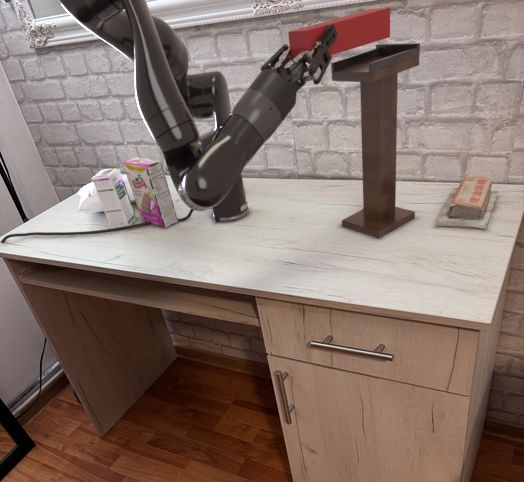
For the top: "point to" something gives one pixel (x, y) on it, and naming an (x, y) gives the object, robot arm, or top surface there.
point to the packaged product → (469, 204)
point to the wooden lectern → (378, 132)
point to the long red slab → (344, 32)
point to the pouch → (91, 199)
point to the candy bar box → (151, 191)
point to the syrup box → (114, 197)
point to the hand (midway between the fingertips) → (323, 30)
